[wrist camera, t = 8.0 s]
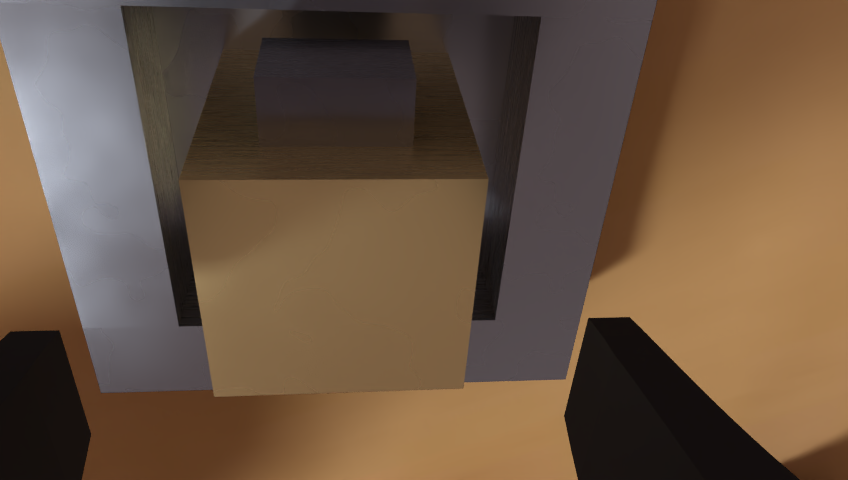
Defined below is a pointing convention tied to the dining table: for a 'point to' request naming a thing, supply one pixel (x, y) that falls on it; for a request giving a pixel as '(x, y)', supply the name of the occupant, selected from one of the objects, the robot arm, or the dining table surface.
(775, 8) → the dining table surface
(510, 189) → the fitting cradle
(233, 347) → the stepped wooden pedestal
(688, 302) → the dining table surface
